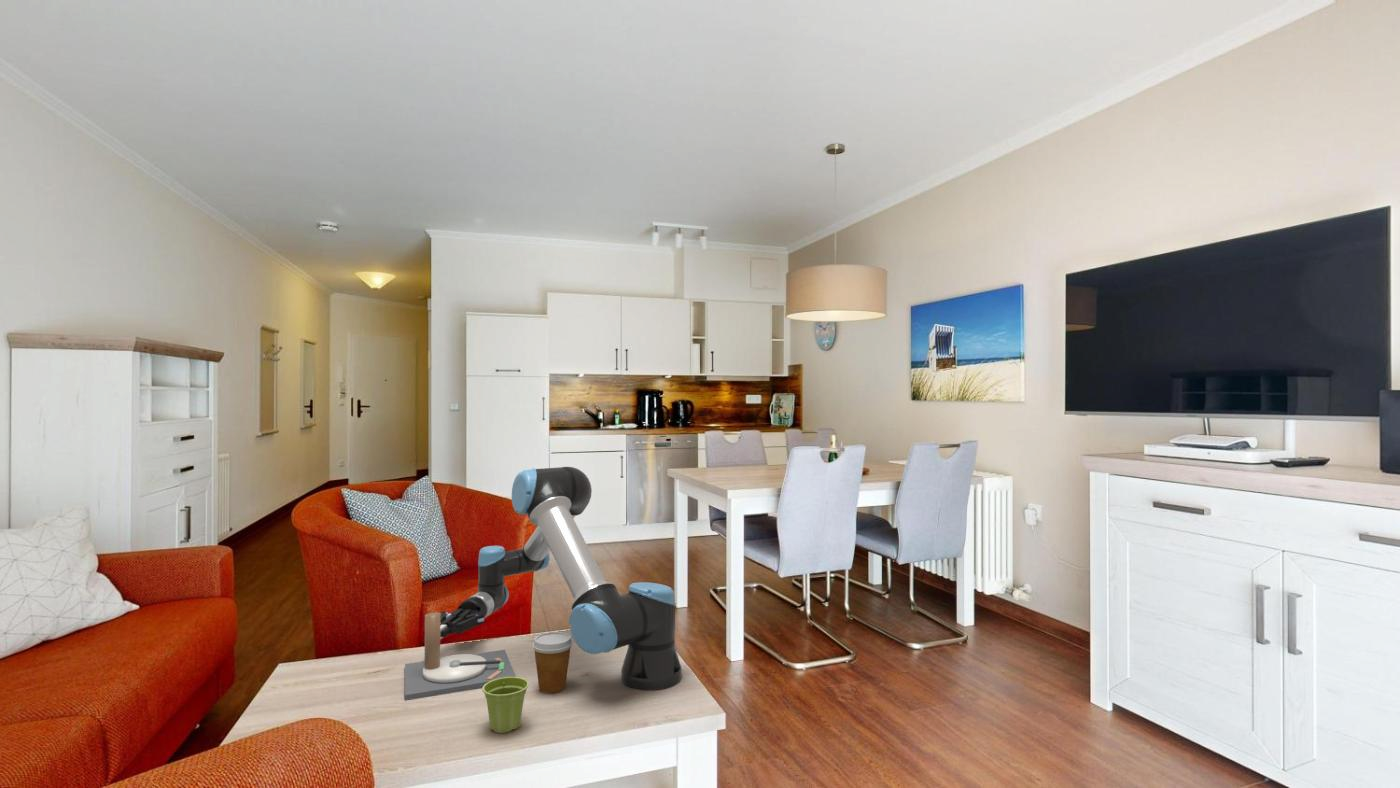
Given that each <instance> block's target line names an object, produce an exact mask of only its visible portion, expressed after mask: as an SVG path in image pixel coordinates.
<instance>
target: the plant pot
mask: <svg viewBox="0 0 1400 788" xmlns="http://www.w3.org/2000/svg"><path fill="white" fill-rule="evenodd" d="M529 683H530V682H529V681H528V680H527V679H526V678H523V677H518V676H516V677H503V678H498V679H495V680H492V681H489V682H488V683H486V684H485V685H484V686H483V688H482V692H483V693H484V696H485V698H486V705H487V712H488V720H489V728H490V730H493V732H494V733H498V734H500V733H505V734H506V733H509V732H511V731H512V730H516V729H518V728H519V727H520V725H521V721H522V714H523V706H524V701H525V694H526V693H527V689H528V688H529Z"/></svg>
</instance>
